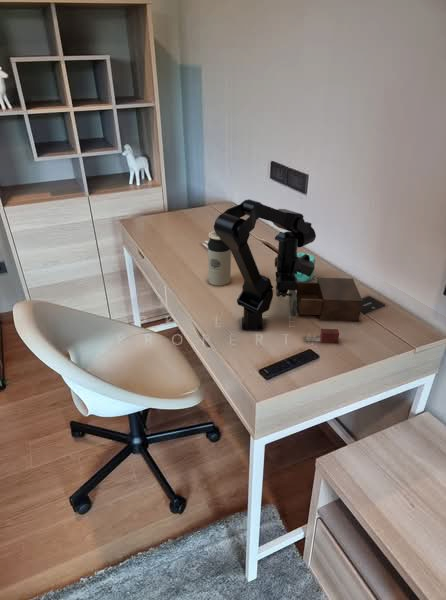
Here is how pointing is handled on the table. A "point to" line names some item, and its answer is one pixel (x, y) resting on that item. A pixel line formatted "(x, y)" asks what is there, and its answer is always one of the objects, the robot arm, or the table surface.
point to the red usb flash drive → (326, 336)
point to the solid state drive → (370, 304)
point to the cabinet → (340, 299)
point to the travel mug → (218, 261)
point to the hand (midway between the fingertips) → (283, 296)
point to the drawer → (305, 298)
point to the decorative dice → (303, 277)
